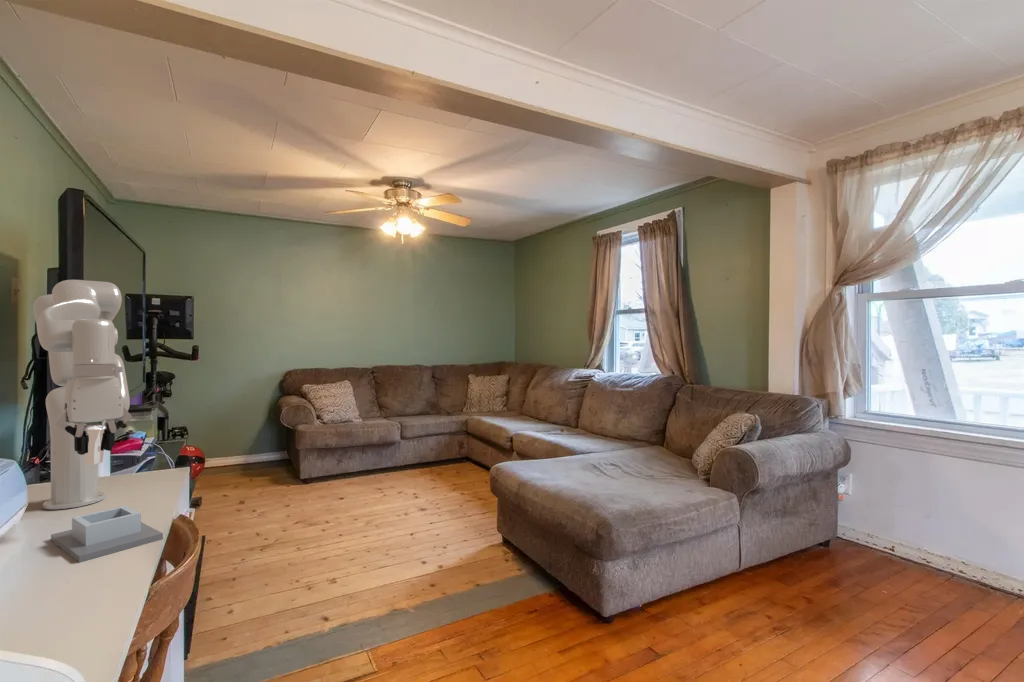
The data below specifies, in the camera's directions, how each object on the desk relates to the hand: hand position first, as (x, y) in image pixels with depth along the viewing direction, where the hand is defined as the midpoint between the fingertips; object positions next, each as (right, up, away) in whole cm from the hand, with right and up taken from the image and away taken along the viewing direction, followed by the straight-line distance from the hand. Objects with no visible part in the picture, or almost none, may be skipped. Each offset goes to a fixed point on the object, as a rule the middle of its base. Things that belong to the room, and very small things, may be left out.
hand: (94, 451), depth 113 cm
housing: (+8, -18, -6) cm, 21 cm away
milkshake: (0, -3, 0) cm, 3 cm away
